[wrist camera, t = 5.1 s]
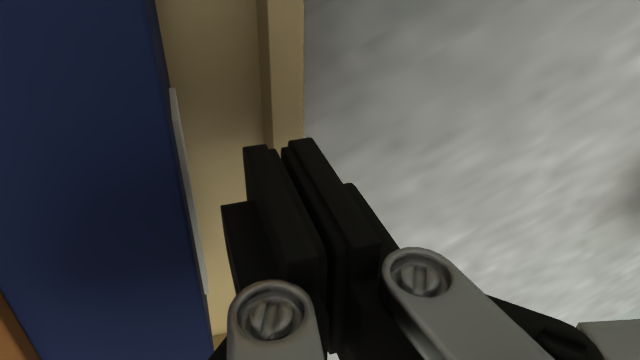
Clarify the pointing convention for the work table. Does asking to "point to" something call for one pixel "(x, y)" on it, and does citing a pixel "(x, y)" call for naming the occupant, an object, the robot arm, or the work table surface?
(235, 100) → the boot tray
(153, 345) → the brown matchbox
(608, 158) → the work table surface
